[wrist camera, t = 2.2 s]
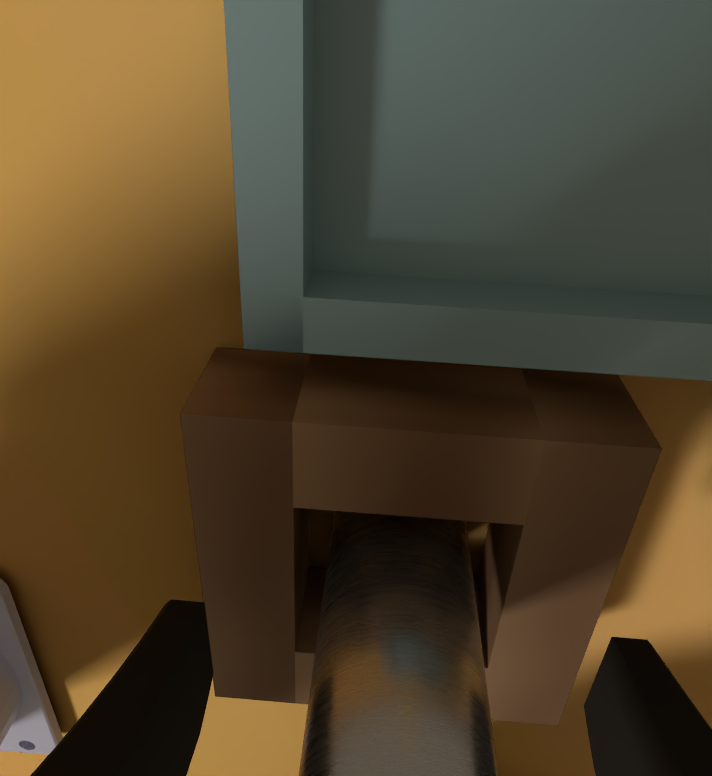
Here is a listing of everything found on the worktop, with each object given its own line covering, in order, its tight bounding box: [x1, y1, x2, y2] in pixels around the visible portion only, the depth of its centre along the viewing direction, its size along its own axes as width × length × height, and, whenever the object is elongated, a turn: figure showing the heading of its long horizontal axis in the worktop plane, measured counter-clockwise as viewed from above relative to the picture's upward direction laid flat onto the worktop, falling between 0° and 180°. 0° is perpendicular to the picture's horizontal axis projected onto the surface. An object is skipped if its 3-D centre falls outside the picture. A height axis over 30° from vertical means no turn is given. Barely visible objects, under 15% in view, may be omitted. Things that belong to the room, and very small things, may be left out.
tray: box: [224, 0, 712, 381], centre depth 9 cm, size 11×8×2 cm
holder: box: [180, 348, 662, 726], centre depth 13 cm, size 8×8×2 cm
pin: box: [299, 511, 498, 776], centre depth 11 cm, size 3×3×9 cm
